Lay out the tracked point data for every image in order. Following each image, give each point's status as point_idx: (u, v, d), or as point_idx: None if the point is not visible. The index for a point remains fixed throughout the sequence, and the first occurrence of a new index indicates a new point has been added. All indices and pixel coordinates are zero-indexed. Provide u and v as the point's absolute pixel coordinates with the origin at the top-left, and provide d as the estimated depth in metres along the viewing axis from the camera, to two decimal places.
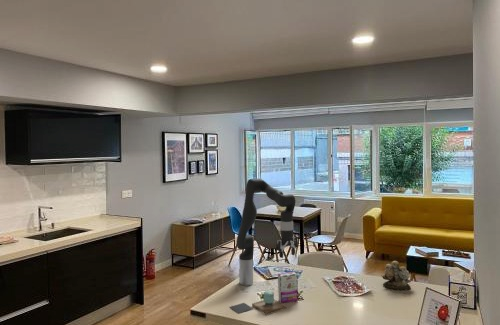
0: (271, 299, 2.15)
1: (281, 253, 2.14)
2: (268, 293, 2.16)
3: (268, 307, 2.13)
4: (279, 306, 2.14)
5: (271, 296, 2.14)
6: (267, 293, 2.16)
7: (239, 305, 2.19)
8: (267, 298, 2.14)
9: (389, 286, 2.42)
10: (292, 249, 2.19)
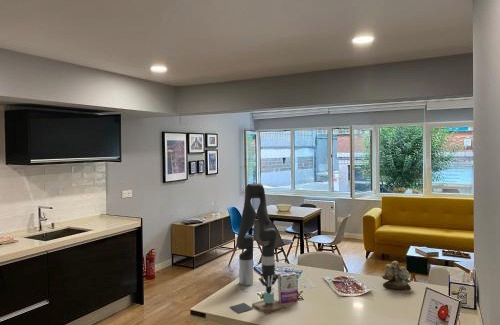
0: (271, 299, 2.15)
1: (268, 288, 2.16)
2: (268, 293, 2.16)
3: (268, 307, 2.13)
4: (279, 306, 2.14)
5: (271, 296, 2.14)
6: (267, 293, 2.16)
7: (239, 305, 2.19)
8: (267, 298, 2.14)
9: (389, 286, 2.42)
10: None
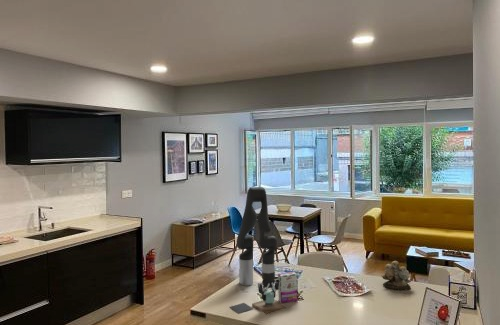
0: (271, 299, 2.15)
1: (264, 296, 2.14)
2: (268, 293, 2.16)
3: (268, 307, 2.13)
4: (279, 306, 2.14)
5: (271, 296, 2.14)
6: (267, 293, 2.16)
7: (239, 305, 2.19)
8: (267, 298, 2.14)
9: (389, 286, 2.42)
10: None
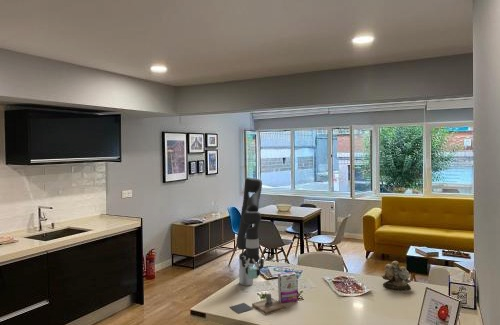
0: (250, 275, 2.13)
1: (246, 269, 2.17)
2: None
3: (268, 307, 2.13)
4: (279, 306, 2.14)
5: (250, 272, 2.13)
6: (250, 268, 2.16)
7: (239, 305, 2.19)
8: (248, 272, 2.15)
9: (389, 286, 2.42)
10: None
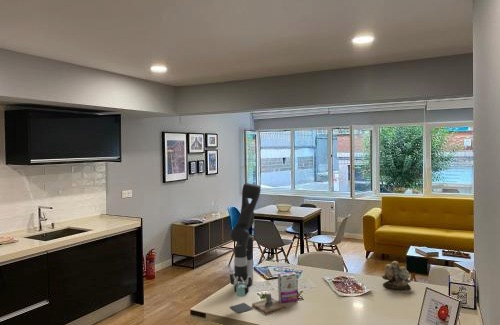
0: (238, 293, 2.13)
1: (234, 287, 2.17)
2: None
3: (268, 307, 2.13)
4: (279, 306, 2.14)
5: (238, 290, 2.13)
6: (239, 286, 2.16)
7: (239, 305, 2.19)
8: (236, 290, 2.15)
9: (389, 286, 2.42)
10: None
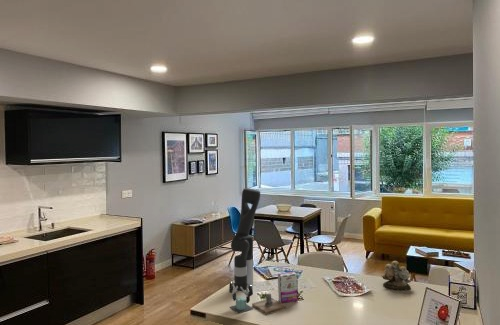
0: (238, 306, 2.14)
1: (233, 295, 2.17)
2: None
3: (268, 307, 2.13)
4: (279, 306, 2.14)
5: (238, 303, 2.14)
6: (238, 299, 2.16)
7: None
8: (236, 303, 2.16)
9: (389, 286, 2.42)
10: None
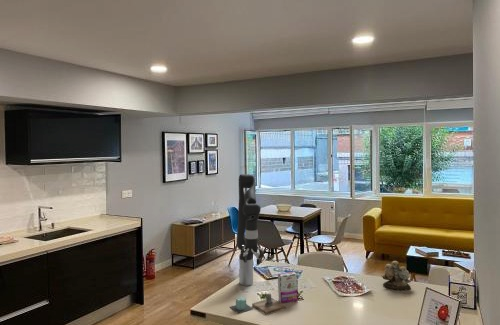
0: (238, 306, 2.14)
1: (244, 258, 2.26)
2: None
3: (268, 307, 2.13)
4: (279, 306, 2.14)
5: (238, 303, 2.14)
6: (238, 299, 2.16)
7: None
8: (236, 303, 2.16)
9: (389, 286, 2.42)
10: None
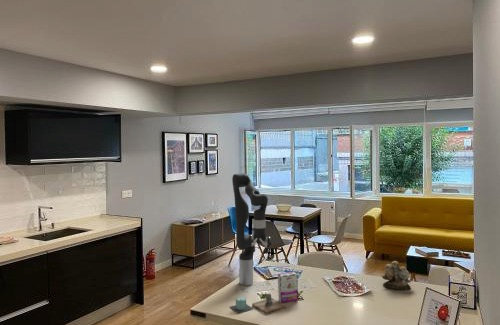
0: (238, 306, 2.14)
1: (252, 248, 2.31)
2: None
3: (268, 307, 2.13)
4: (279, 306, 2.14)
5: (238, 303, 2.14)
6: (238, 299, 2.16)
7: None
8: (236, 303, 2.16)
9: (389, 286, 2.42)
10: None
